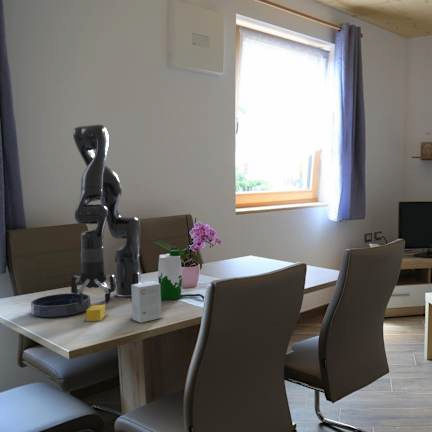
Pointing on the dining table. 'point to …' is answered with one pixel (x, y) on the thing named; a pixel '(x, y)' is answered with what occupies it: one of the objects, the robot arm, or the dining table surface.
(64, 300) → the bowl
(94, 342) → the dining table surface
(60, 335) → the dining table surface
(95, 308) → the yellow block
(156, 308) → the small box
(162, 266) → the milk carton
